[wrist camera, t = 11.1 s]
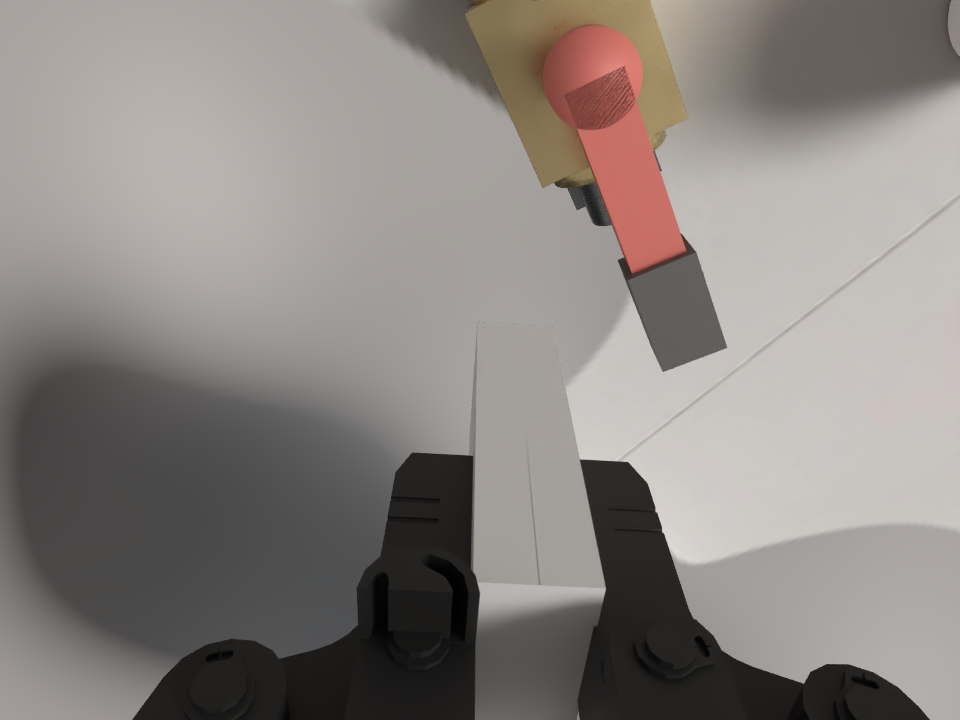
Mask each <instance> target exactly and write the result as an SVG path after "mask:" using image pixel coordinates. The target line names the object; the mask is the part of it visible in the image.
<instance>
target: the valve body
mask: <svg viewBox="0 0 960 720" xmlns="http://www.w3.org/2000/svg"><path fill="white" fill-rule="evenodd" d="M474 1H475V4H476V5H474V6H472V7H470V8H468V10H467V11H466V13H465V16H466V19H467V21H468V23H469V25H470V27H471V30H472V32H473V34H474V36H475V39H476V41H477V43H478V45H479V48H480V50H481V52H482V54H483V56H484V59H485V61H486V63H487V65H488V68H489V70H490V72H491V74H492V76H493V79H494V81H495V83H496V85H497V88H498V90H499V92H500V94H501V96H502V99H503V101H504V103H505V105H506V108H507V110H508V112H509V114H510V116H511V119H512V121H513V123H514V125H515V128H516V130H517V132H518V134H519V136H520V139H521V141H522V143H523V145H524V148H525V150H526V152H527V154H528V156H529V159H530V161H531V163H532V165H533V168H534V170H535V172H536V174H537V176H538V178H539V181H540V183H541V185H542V187H543V188H544V187H546V186H548V185H550V184H552V183H555V185H556V186H557V187H560V188H568V191H569V193H570V195H571V197H572V200H573V202H574V204H575V207H576V209H577V210H578V209H581V208H583V207H585V206H586V208H587V211H588V213H589V216H590V218H591V220H592V222H593V224H595V225H597V226H609V225H612V224H611V221H610V219H609V216H608V213H607V211H606V208H605V206H604V203H603V200H602V198H601V195H600V193H599V190H598V187H597V185H596V182H595V179H594V177H593V174H592V172H591V169H590V166H589V164H588V161H587V159H586V156H585V153H584V151H583V148H582V145H581V143H580V140H579V138H578V135H577V132H576V130H575V127H572V126H570V125H568V124H567V123H565V122H564V121H563V120H562V119H561V118H559V116H558V115H557V114H556V113H555V111H554V110H553V108H552V107H551V105H550V103H549V101H548V99H547V97H546V94H545V91H544V87H543V68H544V63H545V60H546V57H547V55H548V53H549V51H550V49H551V47H552V46H553V45H554V43H555V42H556V41H557V40H558V39H559V38H560V37H561V36H562V35H563V34H565V33H566V32H567V31H569V30H571V29H573V28H575V27H578V26H581V25H587V24H598V25H603V26H606V27H609V28H611V29H614V30H616V31H618V32H620V33H622V34H623V35H625V36H626V37H627V38H628V39H629V40H630V41H631V42H632V43H633V45H634V46H635V48H636V50H637V51H638V54H639V56H640V59H641V63H642V70H643V78H642V85H641V89H640V93H639V95H638V98H637V100H636V101H637V104H638V107H639V110H640V113H641V116H642V119H643V122H644V125H645V128H646V131H647V134H648V137H649V140H650V143H651V146H652V149H653V152H654V155H655V158H656V161H657V164H658V167H659V170H660V171H662V170H661V167H660V165H659V162H658V159H657V156H656V153H655V151H654V150H656V149H657V148H658V147H659V146H660V145H661V144H662V142H663V141H664V140H665V138H666V132H665V129H666V128H668V127H670V126H672V125H675V124H677V123H679V122H681V121H683V120H685V119H687V118H688V117H687V114H686V111H685V107H684V104H683V101H682V98H681V95H680V92H679V89H678V86H677V83H676V80H675V77H674V74H673V71H672V67H671V64H670V61H669V58H668V55H667V52H666V49H665V46H664V43H663V40H662V37H661V34H660V31H659V28H658V24H657V21H656V18H655V15H654V12H653V9H652V6H651V3H650V0H474Z"/></svg>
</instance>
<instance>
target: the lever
mask: <svg viewBox="0 0 960 720" xmlns="http://www.w3.org/2000/svg"><path fill="white" fill-rule="evenodd" d="M642 78H643V70H642V63H641V59H640V56H639V54H638V51H637V50H636V48H635V46H634V45H633V43H632V42H631V41H630V40H629V39H628V38H627V37H626V36H625V35H623V34H622V33H620V32H618V31H616V30H614V29H611V28H609V27H606V26H603V25H598V24H587V25H581V26H578V27H575V28H573V29H571V30H569V31H567V32H566V33H565V34H563V35H562V36H561V37H560V38H559V39H558V40H557V41H556V42H555V43H554V45H553V46H552V47H551V49H550V51H549V53H548V55H547V57H546V60H545V63H544V68H543V87H544V91H545V94H546V97H547V99H548V101H549V103H550V105H551V107H552V108H553V110H554V111H555V113H556V114H557V115H558V116H559V118H561V119H562V120H563V121H564V122H565V123H567V124H568V125H570V126H572V127H575V130H576V132H577V135H578V138H579V140H580V143H581V145H582V148H583V151H584V153H585V156H586V159H587V161H588V164H589V166H590V169H591V172H592V174H593V177H594V179H595V182H596V185H597V187H598V190H599V193H600V195H601V198H602V200H603V203H604V206H605V208H606V211H607V213H608V216H609V219H610V221H611V224H612V227H613V229H614V232H615V234H616V237H617V240H618V242H619V245H620V247H621V250H622V252H623V255H624V258H622V259H619V260H618V262H619V265H620V267H621V270H622V272H623V275H624V278H625V280H626V282H627V285H628V288H629V290H630V293H631V296H632V298H633V301H634V303H635V306H636V308H637V311H638V314H639V316H640V319H641V321H642V324H643V327H644V329H645V332H646V334H647V337H648V339H649V342H650V345H651V347H652V349H653V351H654V354H655V356H656V358H657V360H658V362H659V364H660V367H661V369H662V371H663V372H664V371H667V370H670V369H672V368H675V367H677V366H680V365H683V364H685V363H688V362H691V361H693V360H696V359H699V358H701V357H704V356H707V355H709V354H712V353H715V352H717V351H720V350H723V349H725V348H727V346H726V343H725V340H724V336H723V333H722V330H721V327H720V324H719V321H718V318H717V315H716V312H715V309H714V306H713V303H712V300H711V296H710V293H709V290H708V287H707V284H706V281H705V278H704V275H703V272H702V269H701V266H700V263H699V260H698V256H697V253H696V251H695V250H694V249H693V248H692V246H691V245H690V244H689V243H688V241H687V240H686V239H685V238H684V236H683V235H682V234H681V233H680V230H679V227H678V224H677V221H676V218H675V215H674V212H673V209H672V206H671V203H670V200H669V197H668V194H667V191H666V188H665V185H664V182H663V179H662V176H661V173H660V170H659V167H658V164H657V161H656V158H655V155H654V152H653V149H652V146H651V143H650V140H649V137H648V134H647V131H646V128H645V125H644V122H643V119H642V116H641V113H640V110H639V107H638V104H637V101H636V100H637V98H638V95H639V93H640V89H641V85H642Z"/></svg>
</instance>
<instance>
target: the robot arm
mask: <svg viewBox="0 0 960 720" xmlns="http://www.w3.org/2000/svg"><path fill="white" fill-rule="evenodd" d="M357 604H358V626H357V627H355V628H354V629H353V630H352V631H351V632H350V633H349V634H348V635H346V636H344V637H343V638H341V639H340V640H338V641H336V642H334V643H333V644H330V645H327V646H325V647H322V648H319V649H316V650H313V651H309V652H305V653H301V654H297V655H293V656H289V657H285V658H281V659H278V657H277V656H276V654H275V653H274V652H273V650H271V649H269V648H267V647H265V646H263V645H261V644H259V643H257V642H255V641H250V640H238V639H229V640H225V641H220V642H216V643H212V644H208V645H205V646H203V647H202V648H200V649H198V650H196V651H195V652H193V653H191V654H189V655H187V656H186V657H184V658H182V659H181V660H180V661H179V663H177V665H176V666H175V667H173V668H172V669H171V670H170V671H169V672H168V673H167V674H166V675H165V676H164V677H163V679H162V680H161V682H160V683H159V684H158V686H157V687H156V688H155V690H154V691H153V692H152V694H151V695H150V696H149V698H148V699H147V701H146V702H145V703H144V705H143V706H142V707H141V709H140V710H139V711H138V713H137V714H136V715H135V717H134V718H133V720H577V715H578V711H579V717H580V720H930V719H929V718H928V717H927V716H926V715H925V714H924V712H923V711H922V710H921V709H920V708H919V707H918V706H917V705H916V704H915V703H914V702H913V701H912V700H911V699H910V698H909V697H908V696H907V695H905V693H903V692H902V691H901V690H900V689H899V688H898V687H897V686H895V685H893V684H892V683H890V682H888V681H887V680H885V679H883V678H882V677H880V676H878V675H877V674H875V673H873V672H870V671H867V670H864V669H861V668H857V667H855V666H852V665H848V664H847V665H845V664H826V665H824V666H822V667H820V668H818V669H816V670H814V671H812V672H810V674H809V676H808V678H807V679H806V681H805V683H804V684H803V683H800V682H797V681H794V680H791V679H788V678H785V677H781V676H779V675H776V674H773V673H770V672H767V671H763V670H760V669H758V668H755V667H752V666H750V665H747V664H745V663H743V662H740V661H738V660H736V659H734V658H733V657H731V656H729V655H728V654H726V653H725V652H723V651H722V650H721V648H720V647H719V645H718V643H717V641H716V640H715V638H714V636H713V635H712V634H711V633H710V632H709V631H708V630H706V629H705V628H704V627H703V626H702V625H701V624H700V623H699V622H697V620H695V619H693V617H692V615H691V613H690V611H689V609H688V605H687V602H686V599H685V596H684V593H683V590H682V587H681V584H680V581H679V578H678V575H677V572H676V569H675V566H674V563H673V560H672V557H671V554H670V551H669V548H668V544H667V541H666V538H665V535H664V533H662V526H661V523H660V520H659V517H658V514H657V513H656V512H655V505H654V502H653V499H652V496H651V493H650V490H649V487H648V484H647V482H646V481H645V480H644V479H643V478H642V477H641V476H640V475H639V474H638V473H637V471H636V470H635V469H634V468H633V467H632V466H631V465H630V464H629V463H628V462H617V461H598V460H580V458H579V453H578V448H577V443H576V439H575V434H574V429H573V424H572V419H571V414H570V409H569V404H568V399H567V394H566V389H565V384H564V379H563V374H562V370H561V365H560V360H559V355H558V350H557V345H556V340H555V335H554V330H553V327H551V326H536V325H519V324H502V323H485V322H478V323H477V337H476V353H475V366H474V380H473V396H472V410H471V424H470V444H469V456H466V455H448V454H429V453H412V454H411V455H410V456H409V457H408V458H407V459H406V461H405V462H404V463H403V464H402V465H401V467H400V468H399V469H398V470H397V471H396V473H395V479H394V484H393V491H392V496H391V501H390V507H389V512H388V520H387V523H386V529H385V535H384V540H383V547H382V551H381V556H380V557H379V558H378V559H377V560H376V561H375V562H373V563H372V564H371V565H370V566H369V567H368V568H367V569H366V570H365V571H364V573H363V576H362V578H361V580H360V582H359V584H358V586H357Z"/></svg>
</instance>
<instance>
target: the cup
mask: <svg viewBox="0 0 960 720" xmlns="http://www.w3.org/2000/svg"><path fill="white" fill-rule="evenodd" d="M948 32H949V37H950V41H951V44H952V46H953V48H954V50H955V51H956V53H957V54H958V55H959V57H960V0H951V2H950V7H949V12H948Z"/></svg>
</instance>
